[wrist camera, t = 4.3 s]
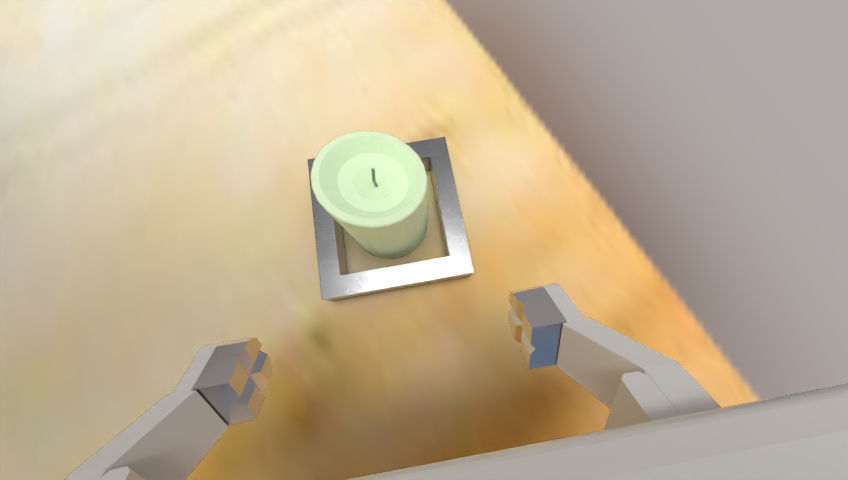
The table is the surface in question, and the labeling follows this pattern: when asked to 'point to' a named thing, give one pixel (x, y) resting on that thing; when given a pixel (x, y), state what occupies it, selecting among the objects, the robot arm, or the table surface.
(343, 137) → the candle
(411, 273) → the holder collar
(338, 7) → the table surface
